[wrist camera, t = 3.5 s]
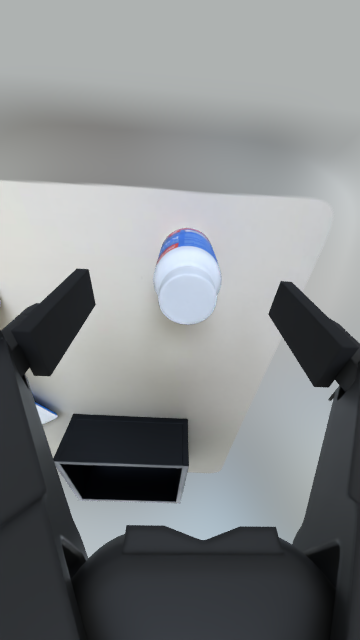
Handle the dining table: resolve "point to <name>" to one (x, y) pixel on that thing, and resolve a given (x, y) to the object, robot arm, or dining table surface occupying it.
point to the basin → (124, 458)
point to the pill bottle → (187, 277)
